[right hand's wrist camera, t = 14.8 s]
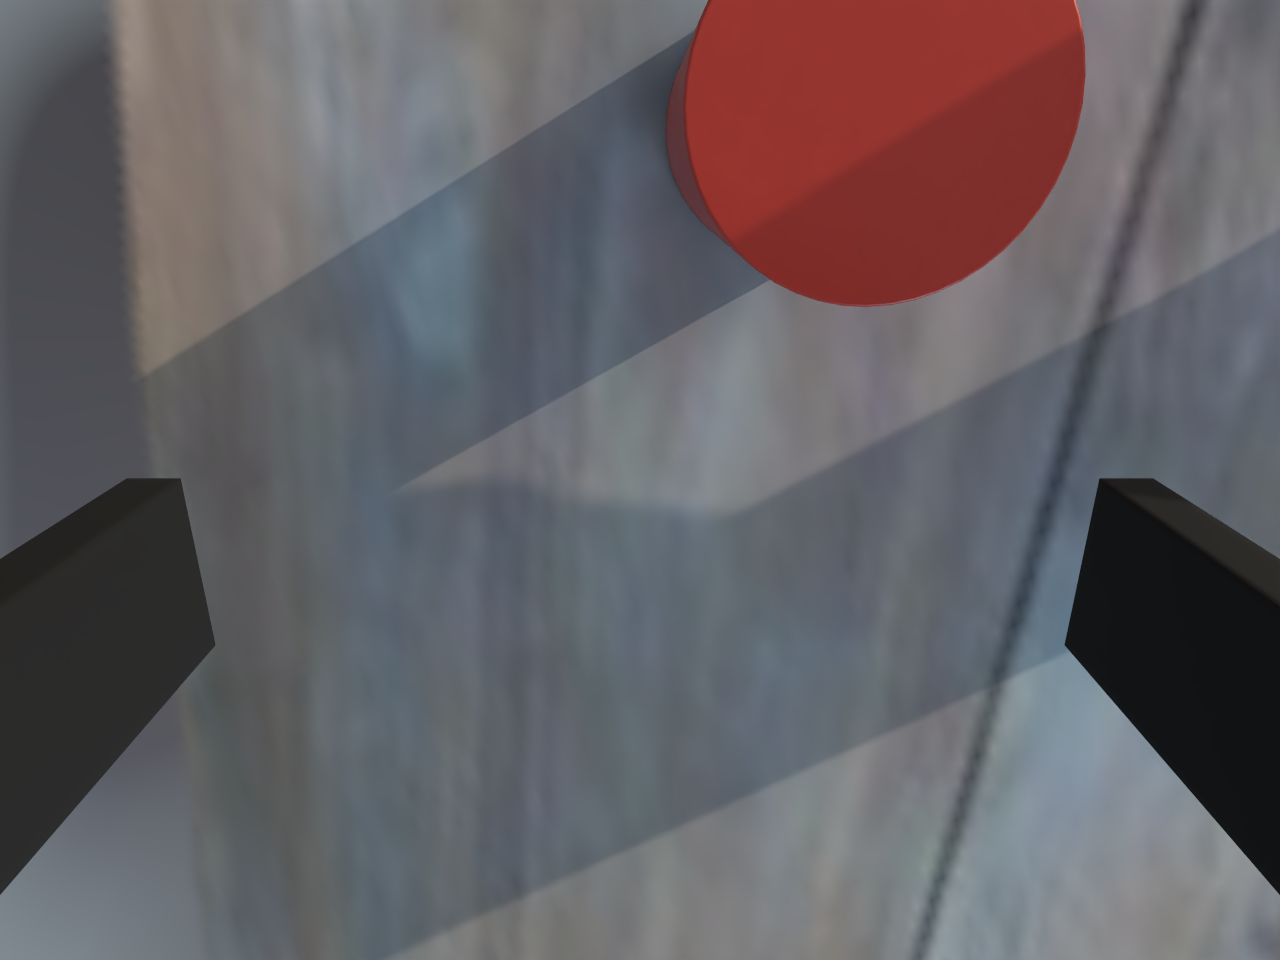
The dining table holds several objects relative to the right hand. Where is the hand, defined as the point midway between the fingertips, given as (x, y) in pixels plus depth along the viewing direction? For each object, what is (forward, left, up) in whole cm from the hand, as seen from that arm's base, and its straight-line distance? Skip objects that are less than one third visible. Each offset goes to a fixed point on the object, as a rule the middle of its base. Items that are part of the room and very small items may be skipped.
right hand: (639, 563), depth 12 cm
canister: (+7, +4, -17) cm, 19 cm away
